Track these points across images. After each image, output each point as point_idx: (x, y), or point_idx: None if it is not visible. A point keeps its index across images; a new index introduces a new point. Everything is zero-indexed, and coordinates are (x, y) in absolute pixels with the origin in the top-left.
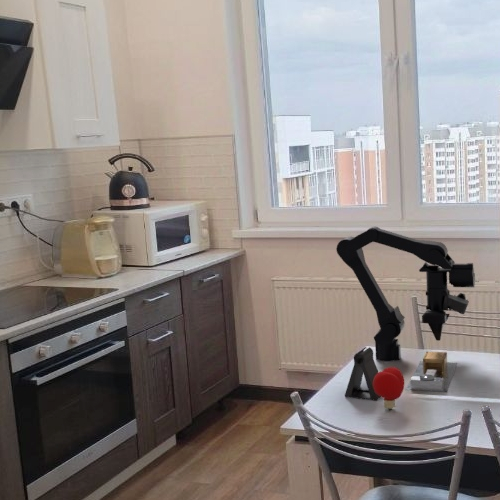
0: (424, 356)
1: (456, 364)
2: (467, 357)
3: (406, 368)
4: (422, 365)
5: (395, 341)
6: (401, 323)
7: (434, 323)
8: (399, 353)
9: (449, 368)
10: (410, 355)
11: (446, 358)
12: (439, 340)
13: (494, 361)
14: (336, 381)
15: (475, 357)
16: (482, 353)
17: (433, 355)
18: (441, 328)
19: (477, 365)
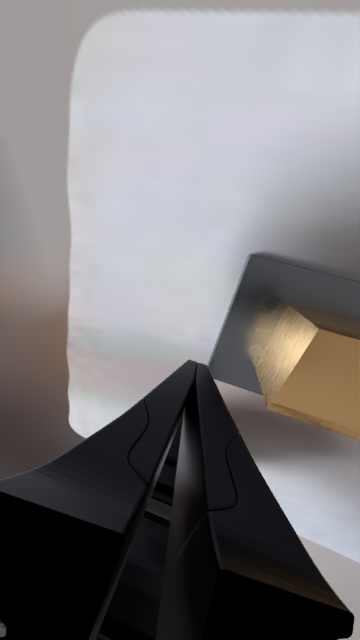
0: (353, 436)
1: (274, 262)
2: (139, 194)
3: (243, 409)
4: (254, 380)
5: (166, 487)
6: (135, 614)
7: (221, 597)
8: (176, 432)
9: (325, 301)
10: (124, 375)
11: (332, 325)
12: (205, 366)
13: (211, 20)
14: (305, 533)
15: (139, 152)
16: (78, 105)
17: (354, 401)
18: (254, 464)
19: (265, 151)
